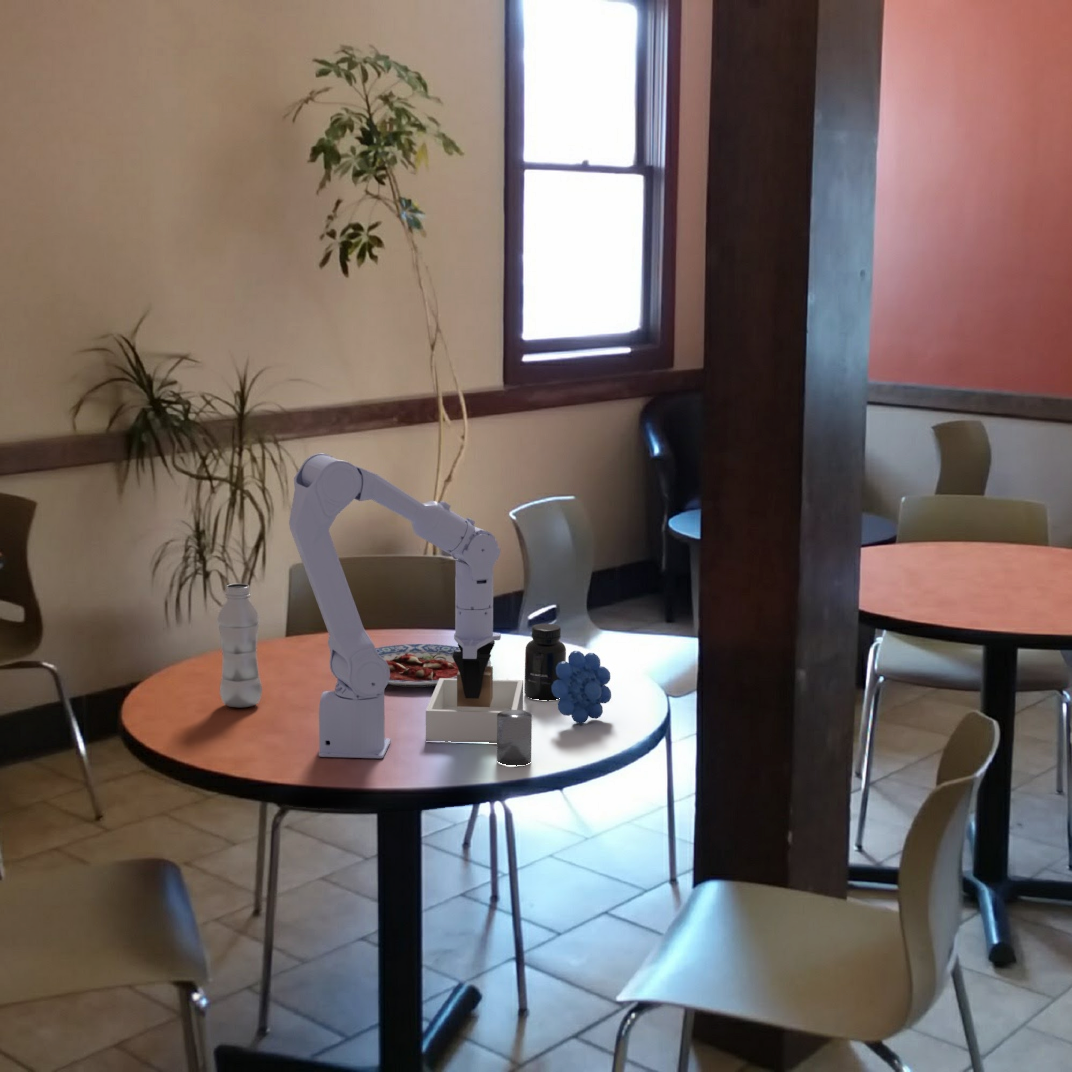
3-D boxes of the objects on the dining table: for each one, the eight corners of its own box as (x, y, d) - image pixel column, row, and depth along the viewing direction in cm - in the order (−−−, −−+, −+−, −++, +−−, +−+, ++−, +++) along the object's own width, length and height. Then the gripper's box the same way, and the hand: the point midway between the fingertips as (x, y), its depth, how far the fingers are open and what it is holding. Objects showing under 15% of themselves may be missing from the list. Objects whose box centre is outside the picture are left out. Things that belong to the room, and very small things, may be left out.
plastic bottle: (253, 713, 226) (249, 591, 222) (213, 710, 227) (209, 589, 224) (268, 701, 232) (265, 582, 229) (229, 698, 233) (226, 580, 230)
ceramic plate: (434, 704, 233) (434, 687, 232) (314, 679, 246) (314, 663, 245) (518, 669, 254) (518, 653, 254) (403, 648, 268) (403, 632, 267)
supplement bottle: (530, 703, 233) (531, 632, 231) (519, 691, 240) (520, 622, 237) (570, 700, 235) (571, 630, 233) (558, 689, 241) (559, 620, 239)
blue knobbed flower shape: (569, 737, 216) (570, 661, 214) (542, 725, 221) (543, 651, 219) (627, 723, 223) (628, 649, 221) (599, 713, 228) (601, 641, 226)
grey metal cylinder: (495, 766, 203) (495, 720, 201) (498, 755, 207) (498, 709, 206) (530, 767, 202) (530, 720, 201) (532, 756, 207) (532, 710, 206)
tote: (425, 742, 213) (425, 710, 212) (439, 707, 230) (439, 678, 229) (515, 745, 212) (516, 713, 211) (522, 710, 229) (523, 680, 228)
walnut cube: (457, 706, 214) (457, 674, 213) (460, 696, 219) (460, 665, 218) (489, 707, 214) (490, 675, 213) (492, 697, 218) (492, 666, 218)
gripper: (496, 617, 206) (496, 707, 209) (504, 595, 220) (503, 679, 223) (448, 616, 206) (448, 706, 209) (459, 594, 221) (459, 678, 223)
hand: (474, 692), depth 216 cm, fingers closed on walnut cube, 5 cm apart
